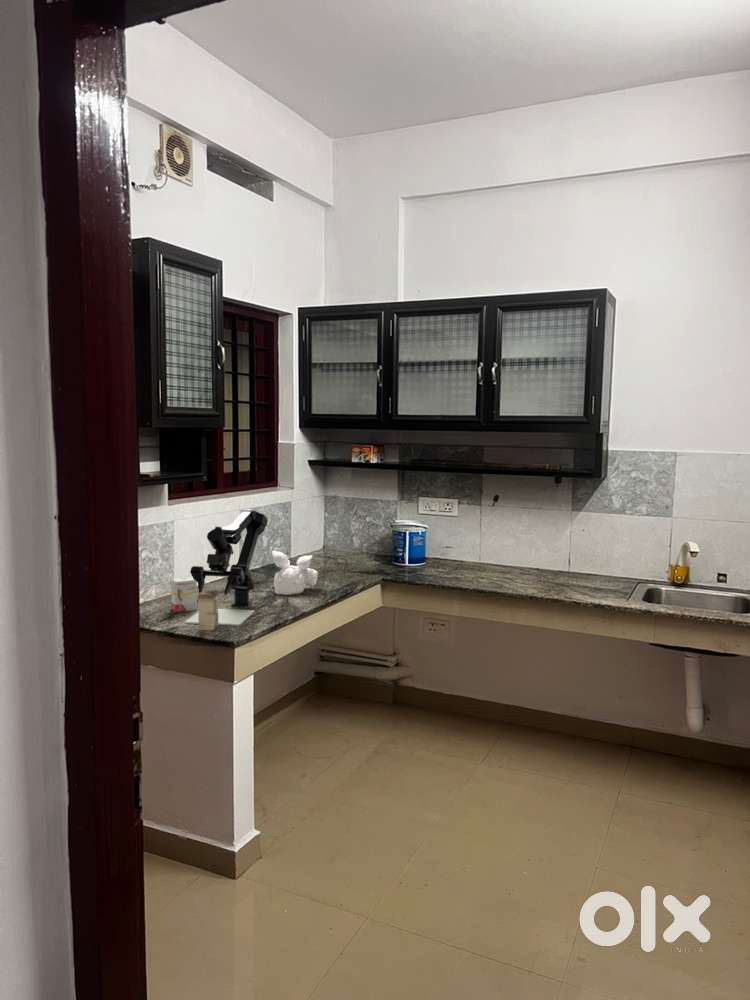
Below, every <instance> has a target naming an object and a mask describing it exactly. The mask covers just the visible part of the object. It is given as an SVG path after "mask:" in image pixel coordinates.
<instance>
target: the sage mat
mask: <svg viewBox="0 0 750 1000" xmlns="http://www.w3.org/2000/svg"><path fill="white" fill-rule="evenodd" d="M254 613H255V610H251V609H232V608H230V609H229V608H218V626H230V627H233V626H235V627H240V626H241V625H242V624H243V623H244V622H245V621H247V620H248V619H249V618H250V617H251V616H252V615H253V614H254ZM184 624H189V625H199V618H198V611H197V612H196V613H194V614H193V615H192V616H190V617H189V618H188V619H187V620H185V621H184Z"/></svg>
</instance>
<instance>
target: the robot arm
mask: <svg viewBox="0 0 750 1000" xmlns="http://www.w3.org/2000/svg"><path fill="white" fill-rule="evenodd" d="M267 525H268V518H267V516H266V515H265V514H263V513H260V512H259V511H258V512H257V511H256V510H255V509H251V508H250V509H249V508H246V509H245V508H244V509H242V510H241V512H240V514H239V515H238V516H237V517H236V519H235V520H233V522H232V523H231V524H229V525H225V526H224V527H221V526H215V528H213V529H211V530H210V531H209V532H208V533H207V535H206V538H207V541H208V542H209V544H210V545H211V547H212V549H214V550H215V552H214V553H208V554H207V557H206V563H207V564H208V568H209V569H205V568H204V566H203V565H201V566H198V565H193V566H191V568H190V571H189V573H190V574H191V577H193V579H194V580H196V581H197V585H198V586H197V590H198V594H199V593H201V592H202V591H204V586H205V583H206V581H205V579H206V577H219V578H220V577H221V578H222V577H223V578H224V577H225V578H227V579H226V580H227V583H226V585H225V589H224V592H223V594H224V596H227V595H228V593H230V591H231V590H233V595H234V596H233V600H234V602H233V603H231V606H232V607H233V606H234V607H248V606H250V605H251V604H252V603H253V600H252V601H251V600H250V591H253V590H254V588H255V581H254V579H253V578H252V572H251V569H250V565H251V563H252V559H253V556H254V553H255V548H256V546H257V542H258V538H259V536H260V535H262V534H263V532H264V531H265V529H266V527H267ZM244 530H246V533H245V535H244V536H245V537H244V541H243V543H242V547H241V550H240V553H239V557H238V560H237V563H236V564H231V567H230V561H231V556H232V555H234V550H233V547H232V545H238V544H239V542H240V541H241V538H242V533H243V532H244ZM228 567H230V569H229V570H228Z"/></svg>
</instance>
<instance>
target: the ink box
mask: <svg viewBox="0 0 750 1000" xmlns="http://www.w3.org/2000/svg"><path fill="white" fill-rule="evenodd" d="M197 585H198V582H197V581H196V580H194V579H193V577H192V576H190V577H181V578H180V577H179V578H177V577H176V578H172V579H171V610H172V611H173V612H174V613H180V612H189V611H198V591H197V590H198V586H197Z"/></svg>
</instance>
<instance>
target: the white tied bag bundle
mask: <svg viewBox="0 0 750 1000" xmlns="http://www.w3.org/2000/svg"><path fill="white" fill-rule="evenodd" d="M271 553H272V554H271V555H272V560H273V562H274V565H275V566H276V567H278V568H280V570H279V571H277V572H276V573H275V574H274V581H273V583H274V584H273V585H274V591H275V593H276V595H283V596H290V595H291V596H292V594H293V595H298V594H301V593H303V592H304V590H305V587H306V583H307V584H308V585H310V586H314V585H316V584H317V581H318V573H319V571H317V570H316V569H314V568H310V566H311V562H312V559H313V557H314V555H313V554H311V555H304V556H299V558H298V559H297V560H296V565H292V564H291V561H290V560H289V557H288V555H287V554H285V553H284V552H282V551H277V550H274V549H273V550H272V551H271ZM290 564H291V565H290Z"/></svg>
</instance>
